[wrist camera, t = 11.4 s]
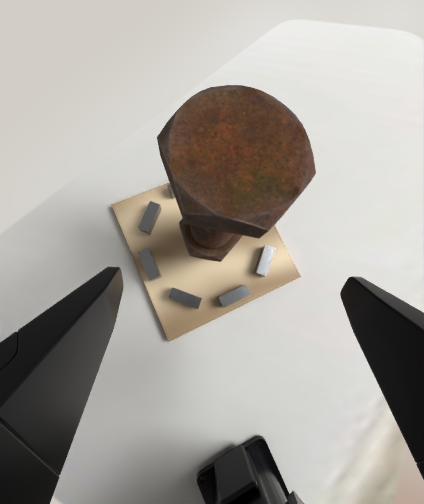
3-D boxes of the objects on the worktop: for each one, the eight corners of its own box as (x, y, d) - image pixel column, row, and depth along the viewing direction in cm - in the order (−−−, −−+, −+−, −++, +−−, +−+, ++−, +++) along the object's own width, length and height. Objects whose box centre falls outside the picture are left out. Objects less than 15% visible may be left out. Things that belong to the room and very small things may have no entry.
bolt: (240, 262, 22) (340, 205, 8) (191, 280, 22) (199, 252, 7) (219, 209, 23) (275, 63, 9) (171, 223, 22) (141, 91, 8)
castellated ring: (291, 273, 23) (296, 272, 22) (172, 330, 21) (171, 333, 20) (236, 164, 24) (238, 157, 23) (121, 208, 22) (117, 203, 21)
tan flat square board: (298, 277, 23) (300, 276, 23) (169, 340, 21) (168, 341, 21) (238, 159, 25) (239, 156, 24) (113, 206, 23) (111, 204, 22)
